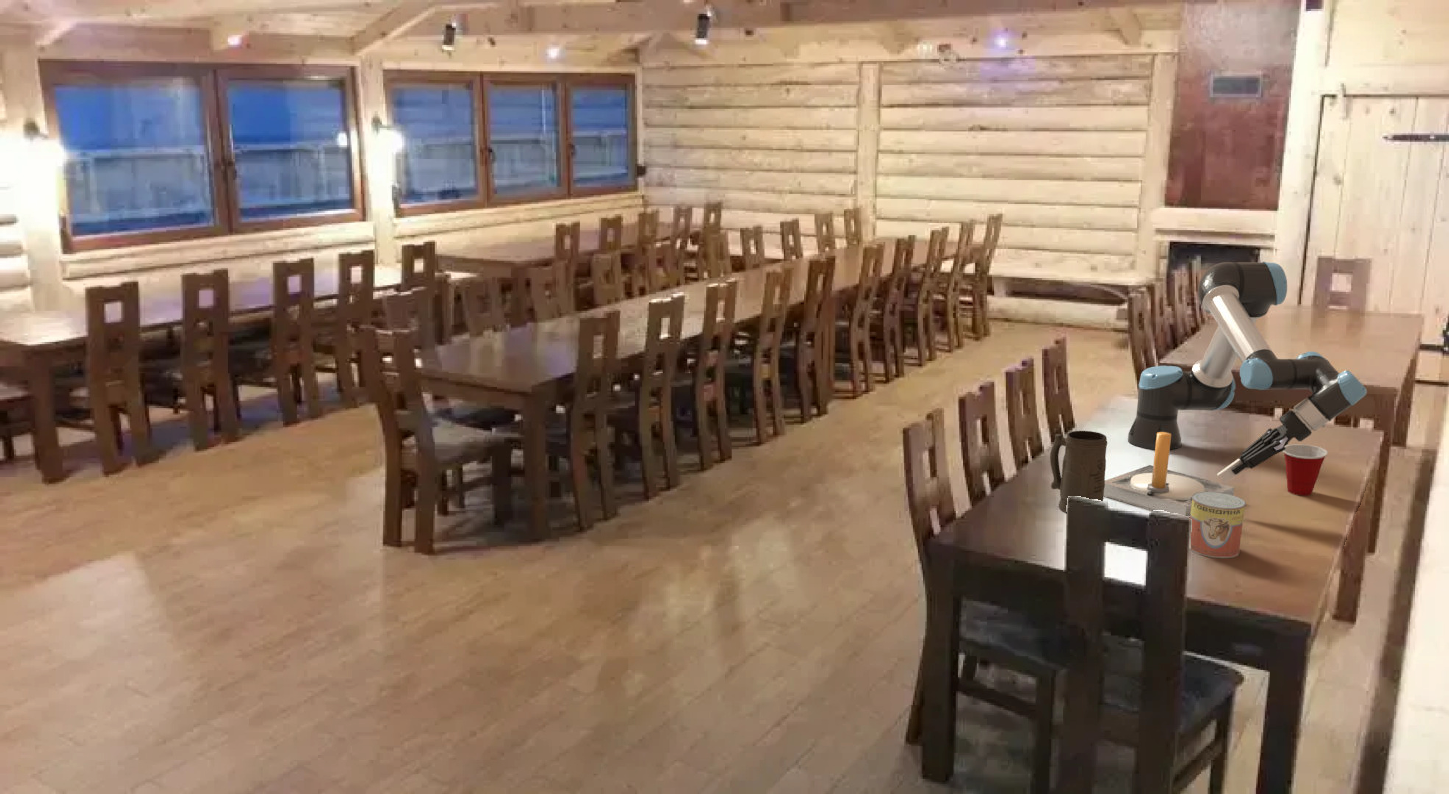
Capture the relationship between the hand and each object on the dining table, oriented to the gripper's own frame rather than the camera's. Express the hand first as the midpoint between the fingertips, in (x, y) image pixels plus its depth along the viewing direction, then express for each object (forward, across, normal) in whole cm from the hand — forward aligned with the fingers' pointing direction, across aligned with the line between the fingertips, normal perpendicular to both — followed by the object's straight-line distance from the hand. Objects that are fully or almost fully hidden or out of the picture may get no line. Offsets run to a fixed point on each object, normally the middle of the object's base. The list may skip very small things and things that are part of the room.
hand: (1221, 478), depth 286 cm
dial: (+13, +6, +4) cm, 15 cm away
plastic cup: (-10, +22, -22) cm, 32 cm away
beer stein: (+31, -9, +19) cm, 38 cm away
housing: (+14, +6, +2) cm, 16 cm away
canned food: (+9, -29, -3) cm, 31 cm away
